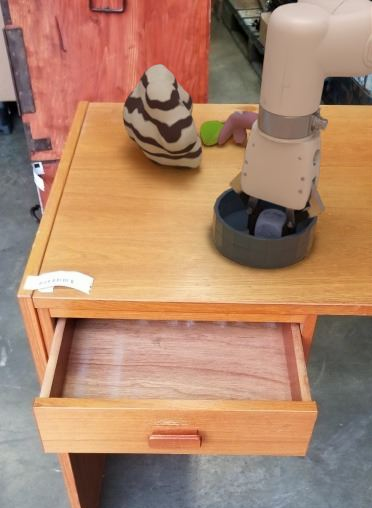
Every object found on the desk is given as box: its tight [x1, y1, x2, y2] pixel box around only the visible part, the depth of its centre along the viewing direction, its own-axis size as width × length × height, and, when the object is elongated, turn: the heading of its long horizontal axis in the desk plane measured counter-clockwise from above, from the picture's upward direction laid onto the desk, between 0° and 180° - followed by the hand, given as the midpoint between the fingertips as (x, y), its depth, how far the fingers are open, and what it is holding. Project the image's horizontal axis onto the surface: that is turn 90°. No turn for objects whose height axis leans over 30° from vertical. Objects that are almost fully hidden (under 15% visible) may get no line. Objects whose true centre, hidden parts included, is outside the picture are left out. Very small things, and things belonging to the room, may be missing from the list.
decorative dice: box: [254, 209, 286, 238], centre depth 88 cm, size 4×4×4 cm
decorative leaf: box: [200, 120, 234, 147], centre depth 112 cm, size 8×9×1 cm
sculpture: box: [122, 63, 203, 171], centre depth 101 cm, size 22×12×15 cm, turn 14°
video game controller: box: [217, 110, 258, 146], centre depth 108 cm, size 10×5×7 cm, turn 56°
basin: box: [212, 187, 319, 270], centre depth 89 cm, size 15×15×5 cm
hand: (270, 238), depth 89 cm, fingers closed on decorative dice, 4 cm apart
